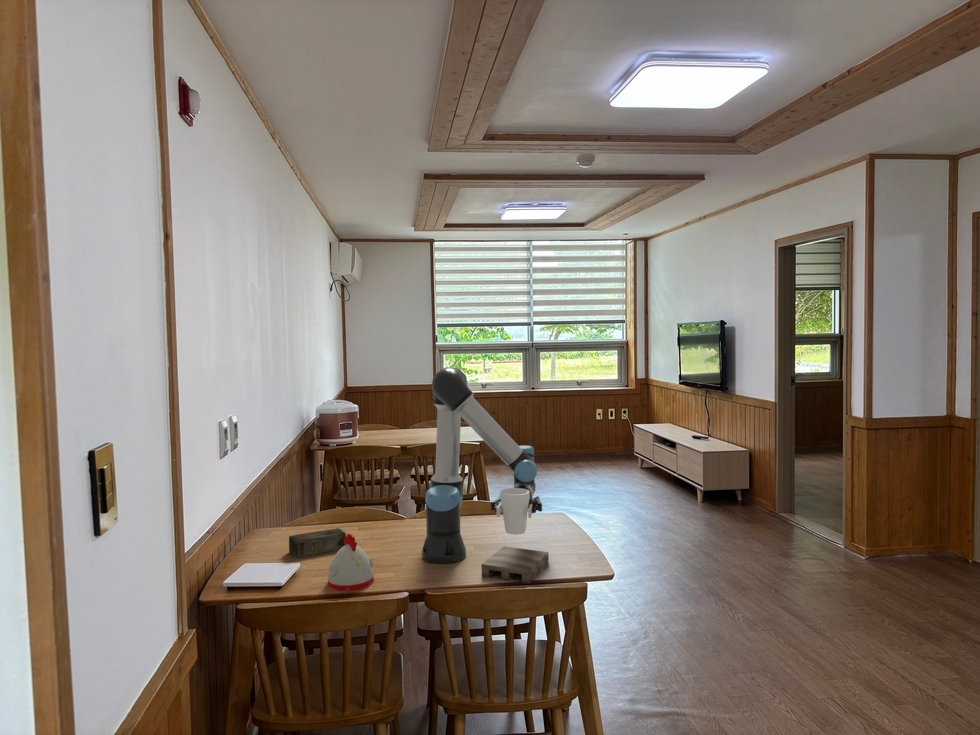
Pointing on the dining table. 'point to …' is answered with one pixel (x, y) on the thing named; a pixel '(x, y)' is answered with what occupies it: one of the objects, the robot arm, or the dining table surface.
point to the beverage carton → (316, 542)
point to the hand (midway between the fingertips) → (513, 513)
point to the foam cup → (515, 509)
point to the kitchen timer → (350, 567)
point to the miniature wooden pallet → (516, 563)
